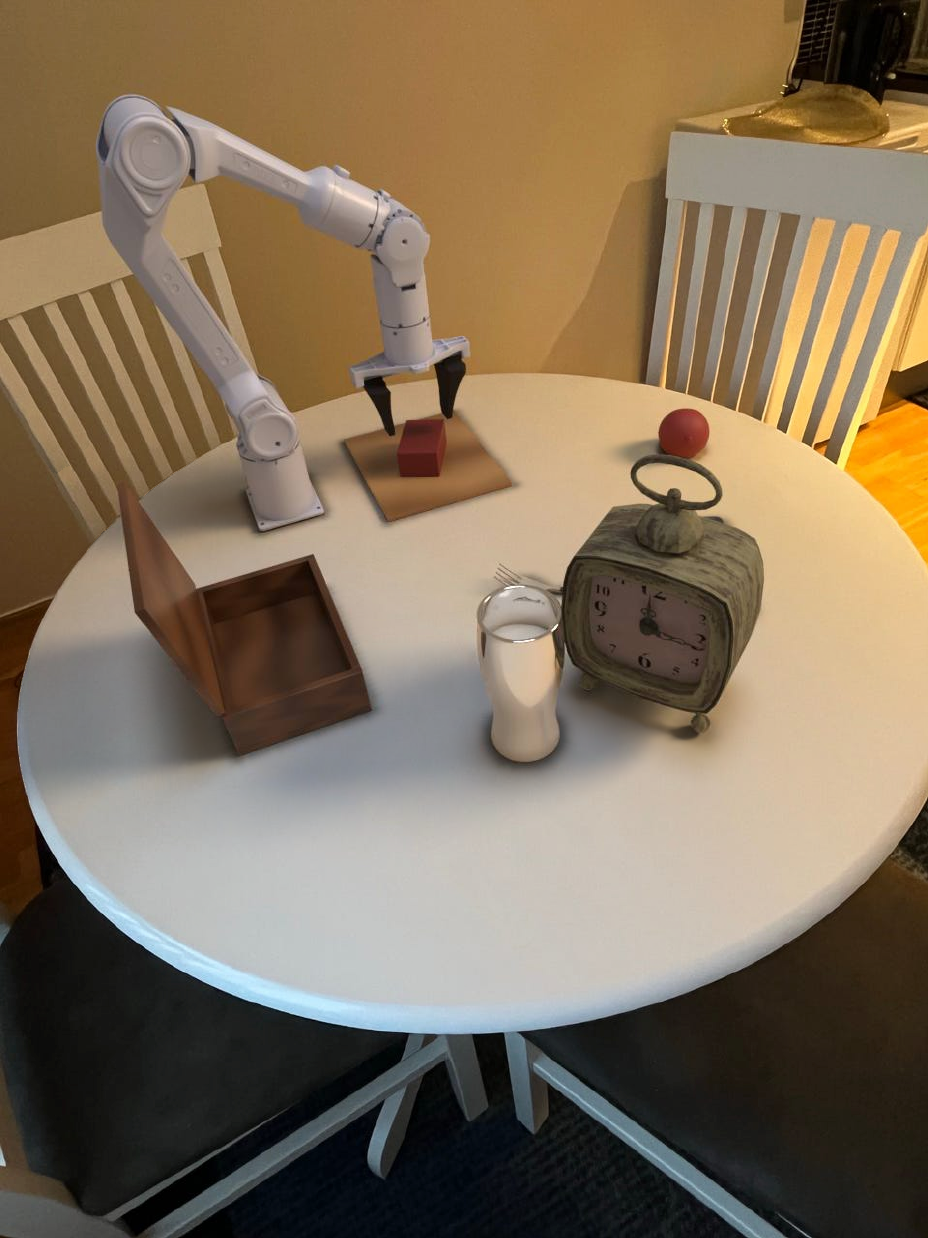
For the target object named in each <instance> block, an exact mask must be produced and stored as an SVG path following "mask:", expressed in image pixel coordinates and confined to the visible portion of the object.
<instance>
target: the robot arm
mask: <svg viewBox="0 0 928 1238" xmlns="http://www.w3.org/2000/svg"><path fill="white" fill-rule="evenodd" d="M165 108H166V109H167V110H168V112H169V113H170V114H171V116H172V118H173V119H171V118H169V116H168V115H167V113H166V112H165V111H164V110H163V108H161V106H160V105H159V104H157V103H156V102H155V101H154V100H152V99H150V98H148V97H147V96H146V97H145V96H144V95H139V94H124V95H123V94H122V95H121V96H120V95H119V96H118V97H116V98H115V99H113V100H112V101H111V102H110V103H109V104H108V105H107V106H106V107H105V110H104V113H103V115H102V118H101V121H100V125H99V129H98V133H97V136H96V140H95V144H94V146H95V153H96V162H97V170H98V171H97V172H98V182H99V196H100V207H101V208H100V209H101V210H100V211H101V221H102V227H103V229H104V232H105V234H106V236H107V238H108V240H109V242H110V244H111V245H112V246H113V248H114V249H115V251H116V252H117V254H118V255H119V256H120V258H121V259H122V260H123V262H124V263H125V265H126V266H127V267H128V269H129V270H130V272H131V273H132V274H133V276H134V277H135V279H136V280H137V281H138V283H139V284H140V285H141V287H142V289H144V291H145V292H146V294H147V295H148V296H149V298H150V300H151V301H152V302H153V303H154V305H155V306H156V307H157V309H158V310H159V312H160V313H161V314H162V316H163V317H164V318H165V320H166V321H167V323H168V324H169V325H170V327H171V328H172V330H173V331H174V333H175V334H176V335H177V337H178V339H180V341H181V342H182V343H183V345H184V346H185V348H186V349H187V351H188V352H189V353H190V355H191V356H192V357H193V359H194V360H195V362H196V363H197V364H198V366H199V367H200V368H201V370H202V371H203V373H204V374H205V376H206V377H207V378H208V380H209V381H210V382H211V384H212V385H213V386H214V388H215V389H216V391H217V392H218V394H219V396H220V397H221V399H222V400H223V402H224V406H225V410H226V412H227V414H228V416H229V417H230V419H231V420H232V422H233V423H234V425H235V427H236V429H237V432H238V435H237V441H236V443H235V446H236V450H237V452H238V456H239V460H240V462H241V466H242V470H243V472H244V475H245V478H246V482H247V486H248V488H246V490H245V493H246V495H247V498H248V501H249V504H250V507H251V511H252V512H253V513H252V514H253V517H254V519H255V521H256V524H257V527H258V530H259V531H260V532H267V531H269V530H272V529H275V528H279V527H282V526H286V525H290V524H293V523H297V522H301V521H303V520H307V519H310V518H313V517H317V516H321V515H323V514H324V513H325V510H324V508H323V505H322V503H321V501H320V498H319V496H318V495H317V493H316V490H315V488H314V485H313V483H312V481H311V479H310V475H309V472H308V471H309V470H308V467H307V464H306V459H305V456H304V452H303V447H302V444H301V440H300V430H299V424H298V421H297V419H296V417H295V416H294V415H293V414H292V412H291V411H290V410H289V409H288V408H287V406H286V404H285V403H284V401H283V399H282V398H281V396H280V394H279V392H278V391H279V390H278V389H277V387H276V386H275V384H274V383H273V382H272V381H271V380H270V379H268V378H266V377H265V376H263V375H261V374H259V373H258V372H257V371H256V370H255V369H254V367H253V366H252V364H251V362H250V361H249V360H248V359H247V357H246V356H245V354H244V353H243V352H242V350H241V348H240V347H239V346H238V344H237V342H236V341H235V340H234V339H233V337H232V335H231V334H230V332H229V331H228V329H227V328H226V326H225V325H224V322H222V320H221V319H220V317H219V316H218V314H217V313H216V311H215V310H214V308H213V306H211V303H210V302H209V300H207V298H206V296H205V295H204V293H203V291H202V290H201V289H200V287H199V286H198V284H197V283H196V281H195V280H194V278H193V277H192V275H191V274H190V272H189V271H188V269H187V267H186V266H185V265H184V263H183V262H182V260H181V259H180V257H179V255H178V254H177V252H175V250H174V248H173V247H172V245H171V244H170V243H169V241H168V239H167V238H166V236H165V235H164V233H163V229H164V226H165V222H166V218H167V215H168V214H167V213H168V209H169V205H170V204H171V202H172V201H173V199H174V197H175V195H177V193H178V192H179V190H180V189H181V187H182V186H183V184H184V183H185V181H186V179H187V177H188V175H189V177H190V178H191V179H192V180H193V182H194V183H195V184H200V183H203V182H206V181H208V180H211V179H213V178H216V177H217V178H218V177H220V176H222V177H223V176H224V177H226V178H229V179H230V180H233V181H235V182H238V183H240V184H242V185H245V186H247V187H250V188H253V189H255V190H257V191H259V192H262V193H264V194H267V195H269V196H272V197H274V198H276V199H278V200H281V201H283V202H286V203H288V204H290V205H293V206H295V207H296V210H297V213H298V216H299V219H300V221H301V223H302V224H303V225H304V226H305V227H308V228H310V229H313V230H315V231H317V232H319V233H321V234H324V235H326V236H328V237H331V238H333V239H335V240H337V241H339V242H342V243H343V244H346V245H348V246H351V247H352V248H354V249H357V250H366V251H368V252H372V254H370V263H371V269H372V276H373V277H372V278H373V285H374V286H373V288H374V293H375V300H376V301H375V302H376V307H377V313H378V314H377V315H378V319H379V326H380V333H381V339H382V345H383V346H382V347H383V351H381V352H379V353H378V354H376V355H373V356H371V357H369V358H367V359H365V360H364V361H363V360H362V361H360V362H358V363H356V364H353V365H350V366H348V373H349V377H350V378H349V379H350V383H351V384H352V385H353V386H354V388H355V389H359V388H363V389H364V391H365V393H366V394H367V395H368V397H369V399H370V400H371V401H372V403H373V406H374V407H375V409H376V411H377V413H378V415H379V417H380V419H381V423H382V425H383V429H385V431H386V432H387V433H388V435H389V436H393V435H395V427H394V426H395V422H394V418H393V412H392V392H391V390H390V389H389V388H388V387H387V384H386V381H384V379H385V378H389V377H392V376H396V375H399V374H405V373H412V374H414V375H419V374H423V373H426V372H429V371H430V367H431V366H434V370H435V375H436V381H437V387H438V399H439V407H440V412H441V413H442V414H443V415H444V416H445V417H446V418H447V419H450V418H452V416H453V410H454V407H455V402H456V398H457V394H458V391H459V388H460V386H461V383H462V381H463V379H464V377H465V375H466V373H467V364H466V363H465V362H464V361H463V359H467V358H470V357H471V348H470V347H471V346H470V341H469V340H468V339H467V338H466V337H465V336H463V335H460V336H454V337H448V338H440V339H439V338H438V339H433V333H432V325H431V314H430V306H429V296H428V287H427V280H426V279H427V277H426V273H425V266H424V260H425V258H426V256H427V254H428V252H429V249H430V244H431V235H430V234H429V233H428V232H427V230H426V226H425V223H423V222H422V219H421V218H420V216H418V215H417V214H416V213H415V212H413V211H412V210H411V209H409V208H408V207H407V206H405V205H404V204H402V203H401V202H399V201H397V200H396V199H394V197H393V196H391V194H390V193H388V192H387V191H385V190H384V189H381V188H378V189H377V191H374V190H373V189H370V188H369V187H367V186H365V185H363V184H361V183H359V182H357V181H355V180H353V179H351V178H350V176H351V172H349V171H348V170H347V169H346V168H343V167H342V166H340V165H338V164H334V165H333V167H332V169H331V168H330V167H327V166H325V165H320V166H317V167H315V168H313V169H311V170H306V171H303V170H301V169H299V168H297V167H296V166H294V165H291V164H290V163H288V162H286V161H284V160H282V159H280V158H279V157H277V156H274V155H273V154H271V153H270V152H267V151H265V150H263V149H262V148H260V147H258V146H256V145H254V144H252V143H251V142H248V141H246V140H245V139H243V138H241V137H239V136H238V135H235V134H233V133H231V132H230V131H228V130H226V129H224V128H222V127H221V126H218V125H216V124H215V123H212V122H210V121H207V120H206V119H204V118H200V117H198V116H196V115H193V114H191V113H188V112H186V111H183V110H181V109H177V108H175V107H171V106H168V105H165Z"/></svg>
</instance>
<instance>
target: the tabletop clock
mask: <svg viewBox="0 0 928 1238" xmlns="http://www.w3.org/2000/svg"><path fill="white" fill-rule="evenodd" d="M649 464H651V465H652V464H665V465H671V466H675V467H680V468H684V469H686V470H689V471H692V472H695V473H696V474H698V475H700V476H702V477H703V478H705V479H706V480H707V481H708V482H709V483H710V484H711V486H712V488H713V489H714V490H715V496H714V498H713V499H709V500H707V501H690V500H685V499H682V492H681V490H680V489H678V488H676V487H671V488H669V489H668V491H667V492H666V495H665V494H662V493H659V492H657V491H655V490H653V489H651V488H649V487H647V486H646V485H644V484H643V483H642V482H641V481H640V480H639V479H638V475H637V474H638V470H639V469H641V468H642V467H644V466H647V465H649ZM630 479H631V481H632V483H633V485H634V486H635V488H636V489H637V490H638V491H639V492H640V494H642V495H644V497H646V498H647V499H648V498H649V499H650V500H652V501H653V502H656V503H655V504H651V503H633V504H625V505H617V506H612V507H611V508H610V510H609V511H608V512H607V513H606V515H605V516H604V517H603V519H602V520H601V521H600V523H599V524H598V525H597V526H596V528H595V529H594V530H593V531H592V533H591V534H589V536H588V538H587V539H586V540H585V542H583V544H582V545H581V547H580V548H578V551H577V552H576V553H575V554H574V555H573V557H572V559H571V561H570V562H569V564H568V565H567V566H566V567H567V568H566V570H565V573H564V578H563V581H562V582H563V584H562V587H563V592H561V593H562V594H561V603H560V605H561V608H562V621H563V629H564V641H565V651H566V653H567V656H568V658H569V659H570V662H571V665H573V666H574V667H576V668H577V669H579V670H580V671H581V672H582V673H583V674H582V675H581V676H580V677H579V684H580V687H581V688H582V689H584V690H587V691H592V690H593V689H594V688H596V687H597V685H598V681H600V682H602V683H604V684H606V685H609V686H611V687H613V688H615V689H618V690H620V691H623V692H626V693H627V694H629V695H632V696H634V697H637V698H640V699H643V700H646V701H649V702H651V703H656V704H658V705H661V706H665V707H667V708H671V709H674V710H678V711H681V712H687V713H691V714H695V715H694V716H692V718H691V720H690V726H691V728H692V730H693V731H694V732H696V733H700V734H702V733H706V732H707V731H708V730H709V728H710V727H711V721H710V719H709V717H708V716H707V714H709V712H711V711H712V710H713V709H714V708H715V707H716V706H717V704H718V702H719V701H720V698H721V697H722V695H723V693H724V691H725V689H726V687H727V685H728V683H729V681H730V679H731V677H732V675H733V674H734V672H735V670H736V668H737V666H738V664H739V662H740V660H741V658H742V656H743V654H744V652H745V650H746V649H747V646H748V644H749V642H750V640H751V639H752V636H753V633H754V631H755V627H756V625H757V621H758V619H759V615H760V613H761V609H762V600H763V593H764V592H763V590H764V583H765V569H764V560H763V557H762V554H761V551H760V547H759V544H758V543H757V539H756V538H755V537H753V536H752V535H750V534H749V533H747V532H746V531H744V530H742V529H740V528H738V527H735V526H734V525H731V524H727V523H725V522H724V523H721V522H718V521H715V520H711V519H708V518H705V517H706V516H702V515H699V514H698V512H697V511H707V510H709V509H711V508H714V507H715V506H717V505H718V504H719V502H720V501H721V500H722V497H723V495H724V494H723V487H722V485H721V482H720V479H718V477H717V476H716V475H715V474H714V473H713V472H712V471H711V470H710V469H708V468H706V467H705V466H704V465H702V464H701V463H698V462H696V461H693V460H691V459H689V458H687V459H685V458H681V457H677V456H672V455H668V454H663V453H662V454H661V453H656V454H655V453H654V454H649V455H645V456H642V457H641V458H639V459H638V460H636V461H635V462H634V464H633V465H632V467H631V470H630Z"/></svg>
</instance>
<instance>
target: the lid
mask: <svg viewBox="0 0 928 1238" xmlns="http://www.w3.org/2000/svg"><path fill="white" fill-rule="evenodd" d="M116 488H117V495H118V497H117V498H118V503H119V511H120V517H121V525H122V532H123V539H124V545H125V552H126V561H127V567H128V575H129V581H130V582H129V583H130V588H131V590H130V591H131V596H132V603H133V610H134V611H133V612H134V614H135V615H136V616H137V618H138V619H139V620H140V621H141V622H142V624H143V625H144V626H145V628H146V629H147V630H148V631H149V633H150V634H151V636H153V638H154V639H155V641H156V642H157V643H158V644H159V646H160V647H161V648H162V650H163V651H164V652H165V653H166V655H167V656H168V657H169V658H170V660H171V661H172V663H174V664H175V666H176V667H177V669H178V670H179V671H180V672H181V674H182V675H183V676H184V677H185V678H186V680H187V681H188V683H189V684H190V685H191V686H192V688H193V689H194V690H195V692H196V693H197V694H198V695H199V697H201V699H202V700H203V701H204V703H205V704H206V705H207V707H208V708H209V709H210V710H211V711H212V713H213V714H214V715H215V717H219V716H222V714H224V713H225V711H224V706H223V702H222V698H221V693H220V689H219V685H218V680H217V676H216V672H215V667H214V663H213V659H212V654H211V650H210V646H209V641H208V637H207V633H206V628H205V624H204V620H203V616H202V611H201V607H200V603H199V598H198V594H197V590H196V589H197V586H196V585H197V584H196V583H195V582H194V580H193V579H192V577H191V576H190V574H189V573H188V571H187V570H186V569H185V567H184V566H183V564H182V563H181V561H180V560H179V559H178V557H177V555H176V553H175V552H174V551H173V550H172V548H171V547H170V545H169V544H168V542H167V541H166V539H165V538H164V536H163V535H162V533H161V532H160V531H159V529H158V527H157V526H156V524H155V523H154V522H153V520H152V518H151V517H150V516H149V515H148V513H147V511H146V510H145V509H144V507H143V505H142V504H141V503H140V501H139V500H138V498H137V497H136V496H135V494H134V492H133V491H132V490H131V488H130V486H129V485H128V483H127V481H123V482H120V483H117V485H116Z"/></svg>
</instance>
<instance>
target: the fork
mask: <svg viewBox="0 0 928 1238" xmlns="http://www.w3.org/2000/svg"><path fill="white" fill-rule="evenodd" d="M498 565H499V566H501V567H502V568H504V569H505V570H506V571H505V570H504V569H501V568H500V567H497V570H499V571H500V572H501V573H503V574H504V575H503V574H501V573H499V572H498V571H495V574H496V575H497V576H499V577H500V578H502V579H503V580H505V581H503V580H502V579H500V578H498V577H497V576H495V575H493V578H494V579H495V580H497V581H498V582H500V583H502V584H503V585H505V586H510V585H518V584H524V585H532V586H537V587H540V588H542V589H545V590H547V591H556V592H561V593H563V586H552V585H549V584H545V583H542V582H539V581H537V580H535V579H532V578H529V577H526V576H524V575H521V574H519V573H517V572H516V571H514V570H513V569H510V568H508V567H507V566H506V565H504V564H502V563H499V564H498ZM507 571H508V572H509V573H508V572H507ZM510 573H511V574H513V575H511V574H510ZM505 575H506V576H507V577H506V576H505ZM515 576H516V577H515ZM509 578H511V579H512V580H511V579H509ZM513 580H514V581H513ZM506 581H507V582H509V583H510V584H509V583H507V582H506Z"/></svg>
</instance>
